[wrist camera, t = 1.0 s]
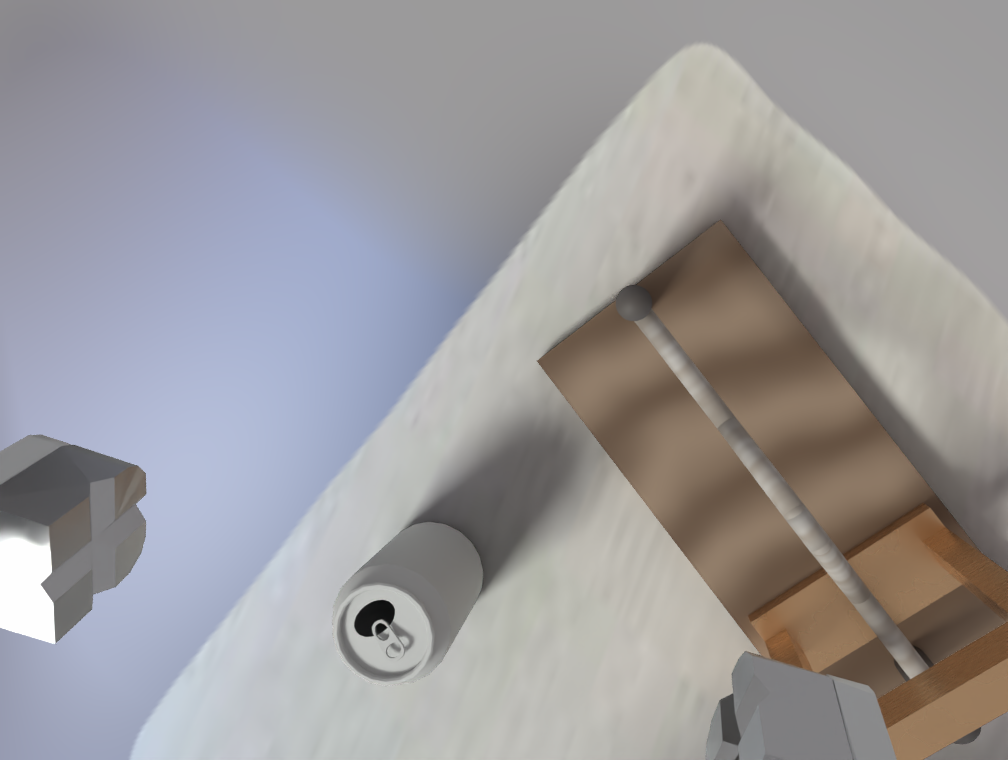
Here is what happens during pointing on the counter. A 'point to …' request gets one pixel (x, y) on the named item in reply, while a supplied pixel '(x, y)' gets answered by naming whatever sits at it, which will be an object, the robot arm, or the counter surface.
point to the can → (407, 604)
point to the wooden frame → (901, 592)
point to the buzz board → (755, 450)
